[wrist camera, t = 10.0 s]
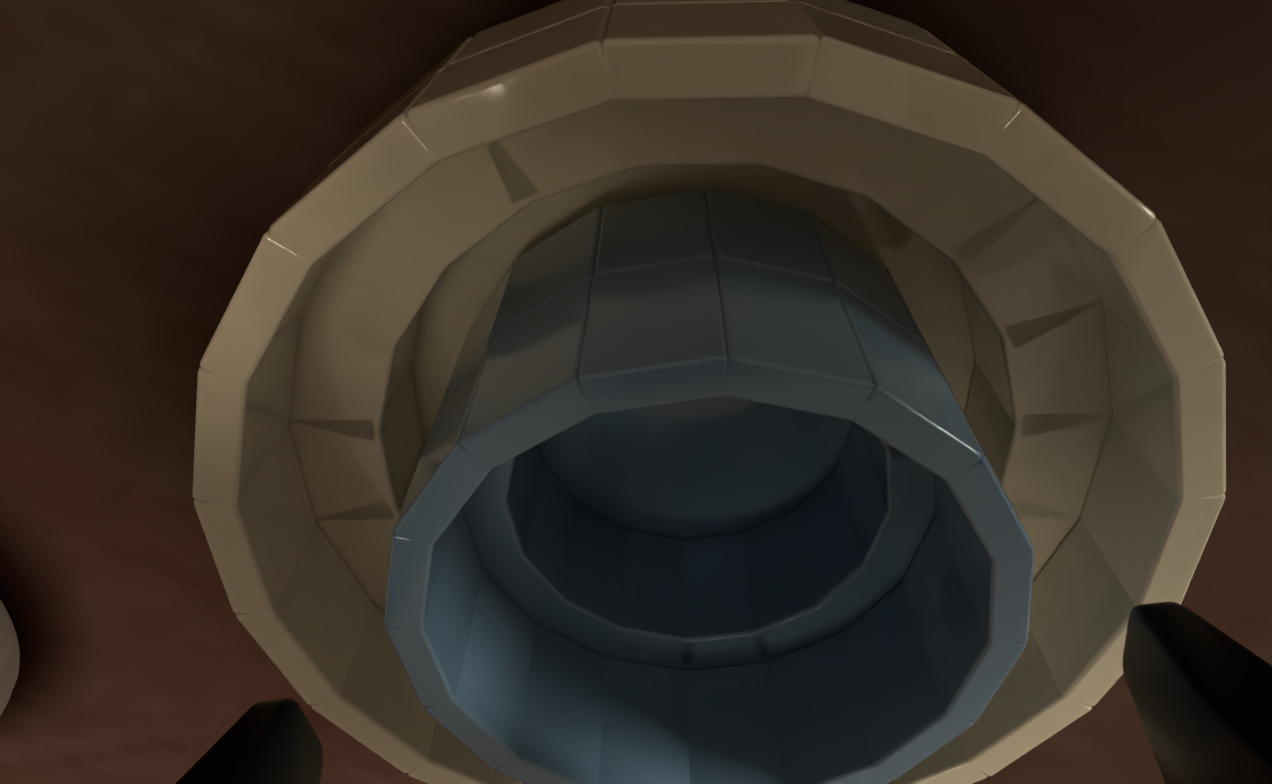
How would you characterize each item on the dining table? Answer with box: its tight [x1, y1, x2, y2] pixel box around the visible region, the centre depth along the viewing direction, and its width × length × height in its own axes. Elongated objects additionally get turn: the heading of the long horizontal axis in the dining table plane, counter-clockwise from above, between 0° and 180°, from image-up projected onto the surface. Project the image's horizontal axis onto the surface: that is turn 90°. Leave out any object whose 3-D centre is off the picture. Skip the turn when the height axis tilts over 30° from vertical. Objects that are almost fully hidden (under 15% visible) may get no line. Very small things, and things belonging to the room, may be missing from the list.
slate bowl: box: [384, 189, 1035, 784], centre depth 12 cm, size 7×7×5 cm
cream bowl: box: [192, 0, 1226, 784], centre depth 13 cm, size 12×12×4 cm
